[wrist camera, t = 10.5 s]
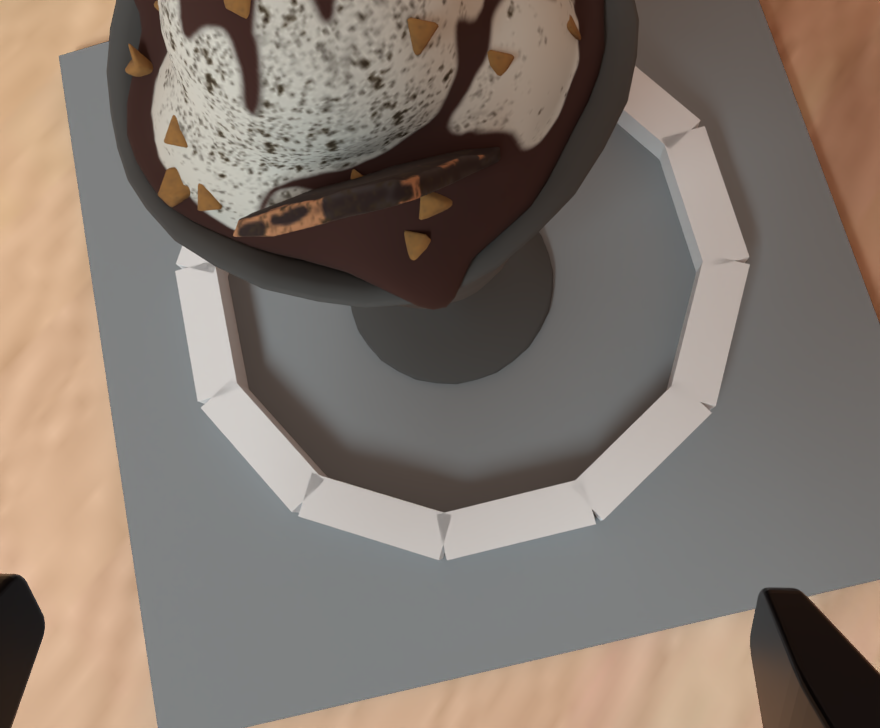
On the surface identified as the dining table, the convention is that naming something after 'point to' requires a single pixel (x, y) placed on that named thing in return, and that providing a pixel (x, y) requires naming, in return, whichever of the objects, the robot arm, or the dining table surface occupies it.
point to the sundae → (375, 152)
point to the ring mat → (500, 415)
